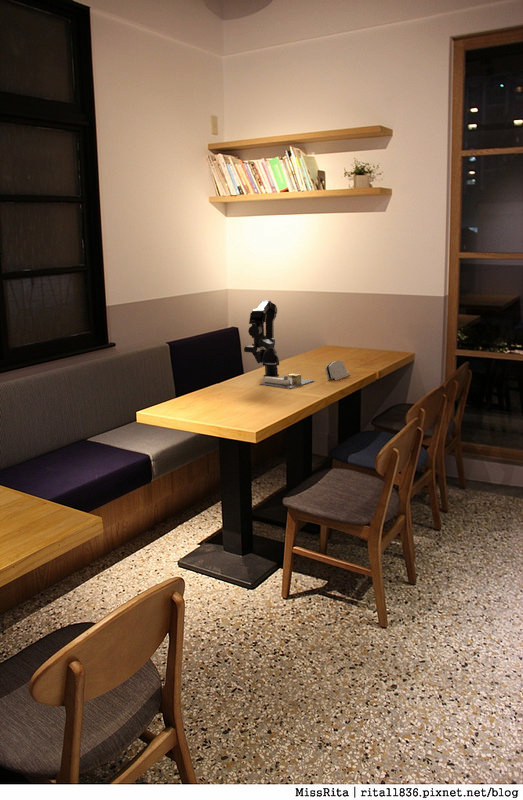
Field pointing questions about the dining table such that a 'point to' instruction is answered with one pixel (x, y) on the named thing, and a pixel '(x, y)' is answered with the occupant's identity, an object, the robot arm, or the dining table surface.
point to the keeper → (295, 378)
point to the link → (277, 380)
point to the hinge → (336, 370)
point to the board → (290, 386)
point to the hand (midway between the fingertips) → (259, 363)
